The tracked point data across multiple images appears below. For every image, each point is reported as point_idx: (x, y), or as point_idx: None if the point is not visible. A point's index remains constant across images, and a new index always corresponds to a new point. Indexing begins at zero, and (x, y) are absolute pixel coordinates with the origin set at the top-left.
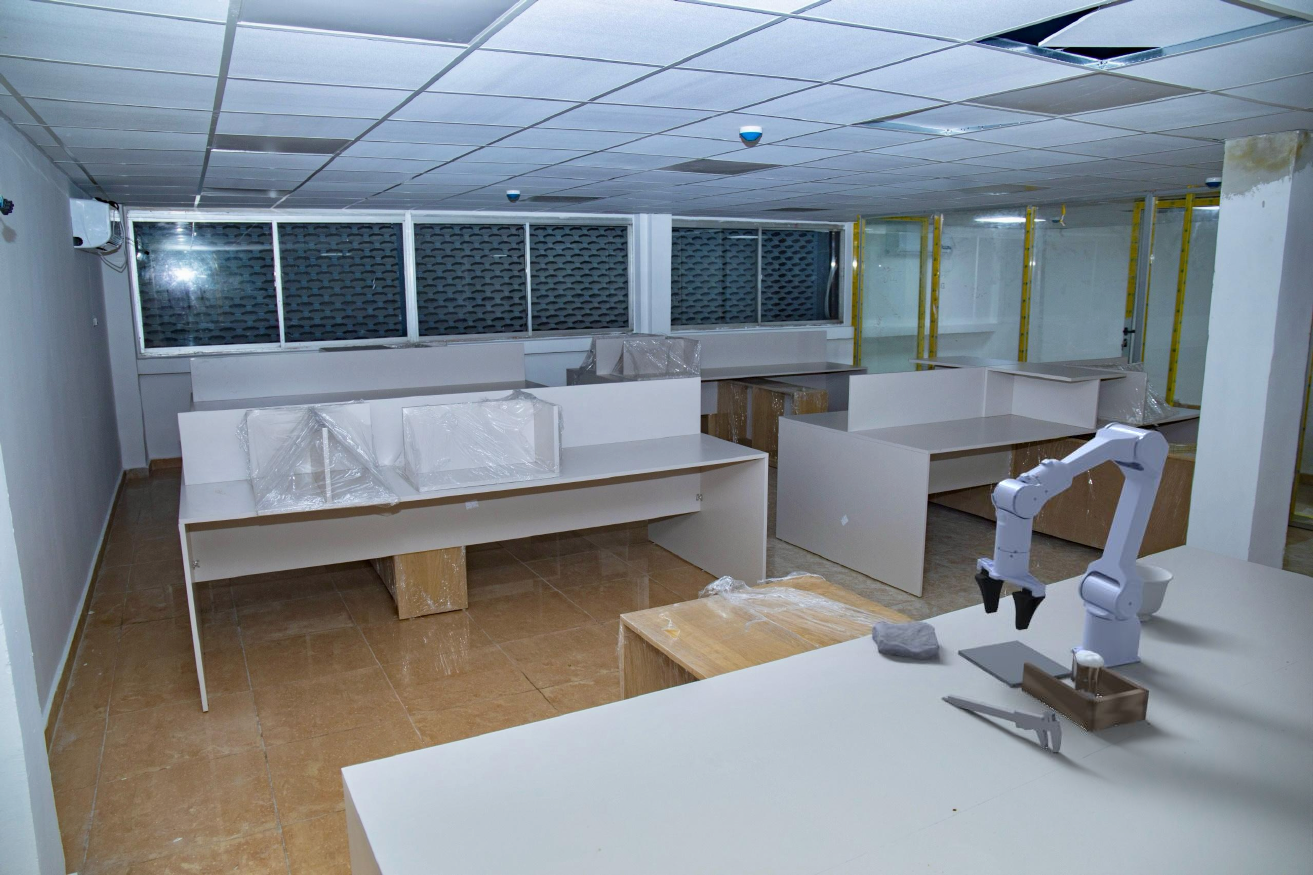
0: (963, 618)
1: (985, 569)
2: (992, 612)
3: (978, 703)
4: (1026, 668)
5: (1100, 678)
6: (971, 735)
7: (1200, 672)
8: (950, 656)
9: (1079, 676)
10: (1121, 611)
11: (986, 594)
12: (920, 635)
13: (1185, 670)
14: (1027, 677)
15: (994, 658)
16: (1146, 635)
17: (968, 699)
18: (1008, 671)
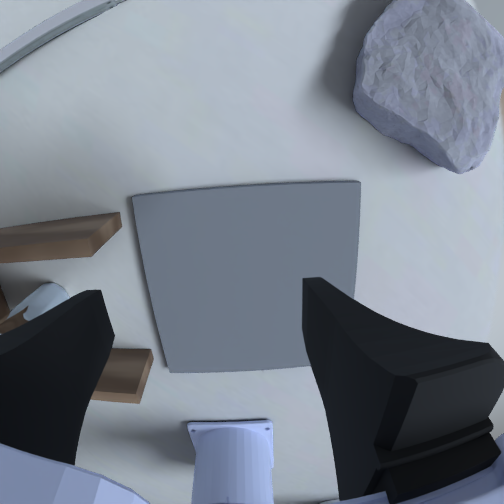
0: (476, 316)
1: (472, 474)
2: (302, 306)
3: (29, 31)
4: (83, 235)
5: None
6: (5, 3)
7: (162, 485)
8: (350, 147)
9: (8, 314)
10: None
11: (336, 329)
12: (427, 83)
13: (169, 480)
14: (87, 227)
15: (283, 251)
16: (277, 498)
17: (61, 19)
18: (200, 236)
